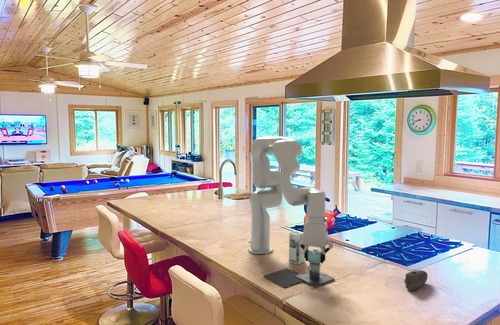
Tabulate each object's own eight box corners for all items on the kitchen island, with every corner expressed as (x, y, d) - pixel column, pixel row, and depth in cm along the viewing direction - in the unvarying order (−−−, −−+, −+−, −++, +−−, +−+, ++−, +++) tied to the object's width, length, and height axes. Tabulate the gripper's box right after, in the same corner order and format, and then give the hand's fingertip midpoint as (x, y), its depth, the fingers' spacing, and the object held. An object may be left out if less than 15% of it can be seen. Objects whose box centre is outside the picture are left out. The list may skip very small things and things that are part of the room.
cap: (309, 257, 162) (309, 246, 161) (323, 259, 159) (323, 248, 159) (306, 262, 156) (306, 251, 156) (320, 264, 154) (320, 253, 153)
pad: (263, 276, 161) (263, 275, 161) (287, 269, 169) (287, 268, 169) (284, 288, 150) (284, 286, 150) (309, 279, 158) (309, 278, 158)
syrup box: (288, 261, 178) (288, 232, 177) (295, 258, 183) (296, 230, 181) (297, 265, 174) (298, 235, 173) (305, 261, 179) (305, 232, 177)
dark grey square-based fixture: (294, 277, 160) (294, 259, 159) (313, 271, 167) (314, 254, 166) (315, 287, 150) (315, 268, 149) (334, 280, 157) (335, 262, 157)
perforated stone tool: (420, 280, 158) (421, 264, 157) (432, 284, 154) (433, 268, 153) (400, 289, 149) (400, 272, 149) (412, 294, 145) (413, 277, 144)
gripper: (338, 219, 156) (336, 261, 158) (298, 215, 163) (297, 255, 165) (334, 224, 149) (333, 267, 151) (293, 219, 156) (292, 261, 158)
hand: (314, 260), depth 158 cm, fingers closed on cap, 6 cm apart
